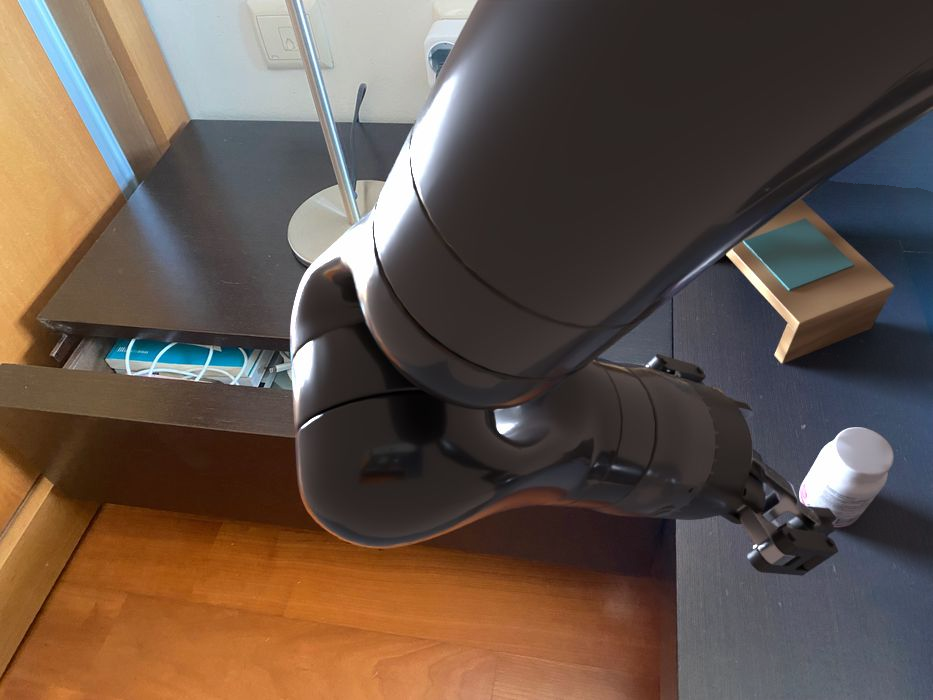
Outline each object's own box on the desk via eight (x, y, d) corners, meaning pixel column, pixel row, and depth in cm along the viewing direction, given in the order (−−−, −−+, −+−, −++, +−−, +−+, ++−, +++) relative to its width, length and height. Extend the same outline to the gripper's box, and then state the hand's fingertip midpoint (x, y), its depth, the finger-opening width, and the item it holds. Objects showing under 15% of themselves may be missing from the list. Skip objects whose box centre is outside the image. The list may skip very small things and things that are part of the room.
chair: (871, 328, 69) (933, 218, 58) (781, 364, 67) (827, 258, 56) (768, 226, 78) (805, 114, 67) (688, 255, 77) (711, 146, 66)
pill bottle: (806, 466, 61) (838, 412, 54) (866, 490, 59) (906, 437, 52) (790, 512, 58) (821, 462, 52) (852, 539, 57) (893, 490, 50)
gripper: (790, 520, 31) (905, 528, 42) (625, 297, 40) (757, 353, 50) (665, 608, 34) (802, 595, 45) (538, 386, 43) (679, 420, 54)
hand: (778, 467), depth 48 cm, fingers open, 8 cm apart
